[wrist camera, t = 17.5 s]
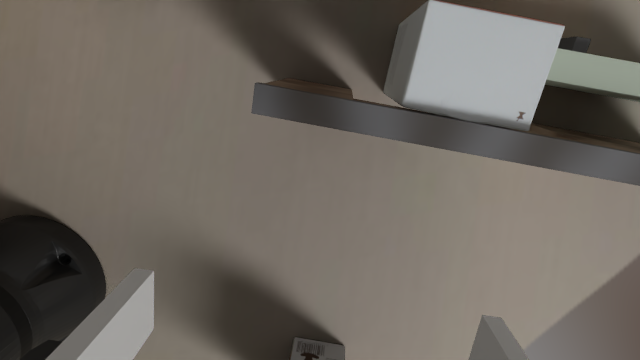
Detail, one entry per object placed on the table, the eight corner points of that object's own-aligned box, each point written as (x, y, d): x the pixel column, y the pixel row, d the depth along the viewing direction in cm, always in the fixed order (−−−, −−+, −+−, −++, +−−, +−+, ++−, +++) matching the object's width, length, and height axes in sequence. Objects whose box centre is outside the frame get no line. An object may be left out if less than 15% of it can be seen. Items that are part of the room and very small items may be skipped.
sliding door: (479, 72, 34) (524, 75, 25) (490, 34, 33) (540, 24, 24) (657, 105, 34) (763, 119, 25) (673, 68, 33) (789, 69, 24)
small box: (487, 39, 34) (571, 24, 21) (465, 110, 35) (531, 135, 23) (397, 21, 34) (428, -4, 21) (380, 93, 35) (399, 109, 23)
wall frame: (286, 95, 36) (251, 113, 23) (289, 76, 36) (255, 83, 22) (640, 161, 36) (812, 218, 22) (648, 142, 35) (829, 189, 22)
